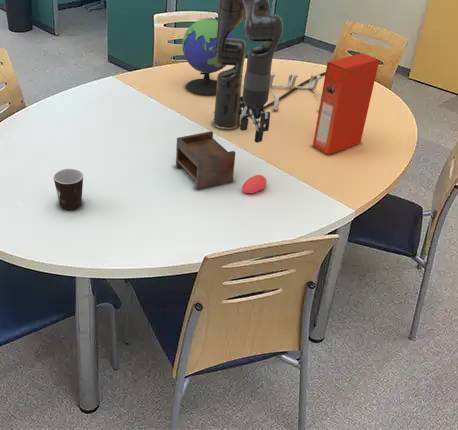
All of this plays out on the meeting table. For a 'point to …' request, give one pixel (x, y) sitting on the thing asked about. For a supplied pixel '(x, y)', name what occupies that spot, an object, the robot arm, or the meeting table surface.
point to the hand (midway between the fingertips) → (250, 135)
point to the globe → (202, 54)
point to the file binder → (344, 102)
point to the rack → (205, 160)
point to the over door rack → (276, 100)
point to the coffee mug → (69, 188)
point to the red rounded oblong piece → (254, 184)
